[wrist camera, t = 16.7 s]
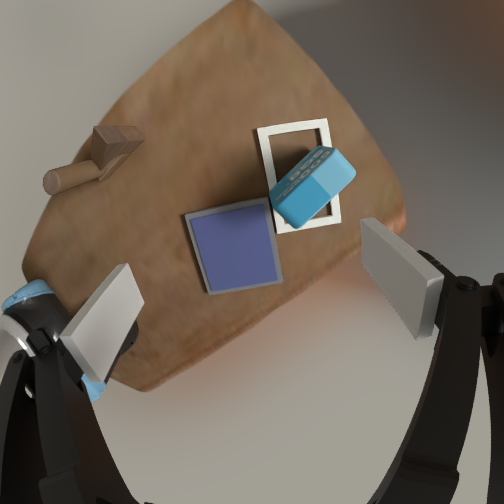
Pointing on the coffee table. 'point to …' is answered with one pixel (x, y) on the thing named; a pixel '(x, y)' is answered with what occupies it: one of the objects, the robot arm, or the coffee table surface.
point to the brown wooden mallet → (96, 158)
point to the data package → (311, 185)
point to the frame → (271, 175)
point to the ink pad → (236, 245)
